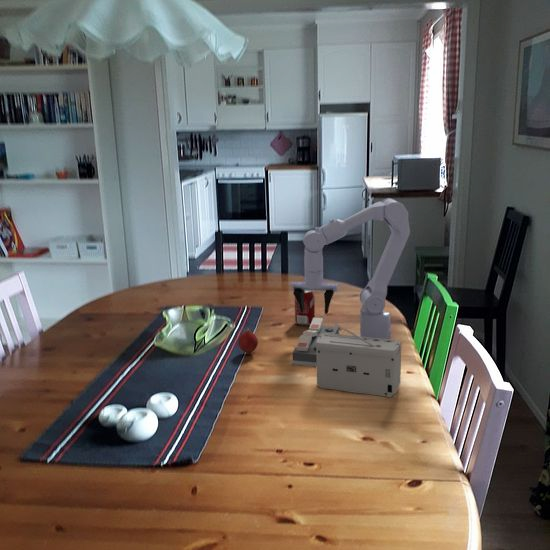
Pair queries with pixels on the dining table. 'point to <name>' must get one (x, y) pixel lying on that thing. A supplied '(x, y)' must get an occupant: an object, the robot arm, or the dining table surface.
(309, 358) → the power strip
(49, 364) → the dining table surface
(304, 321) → the soda can
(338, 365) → the stereo radio cassette player
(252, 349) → the onion
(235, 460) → the dining table surface
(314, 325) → the rocker
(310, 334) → the rocker middle
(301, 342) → the rocker
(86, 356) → the dining table surface
